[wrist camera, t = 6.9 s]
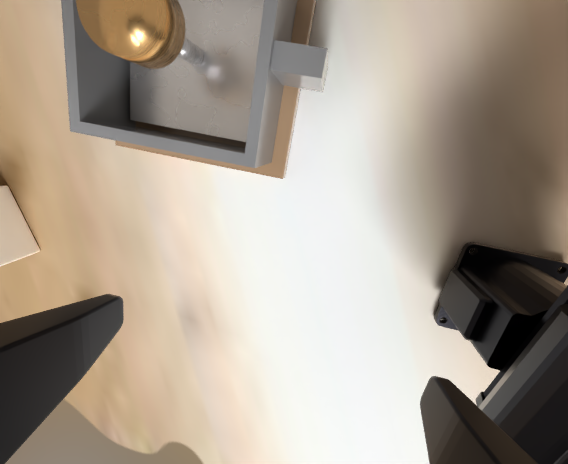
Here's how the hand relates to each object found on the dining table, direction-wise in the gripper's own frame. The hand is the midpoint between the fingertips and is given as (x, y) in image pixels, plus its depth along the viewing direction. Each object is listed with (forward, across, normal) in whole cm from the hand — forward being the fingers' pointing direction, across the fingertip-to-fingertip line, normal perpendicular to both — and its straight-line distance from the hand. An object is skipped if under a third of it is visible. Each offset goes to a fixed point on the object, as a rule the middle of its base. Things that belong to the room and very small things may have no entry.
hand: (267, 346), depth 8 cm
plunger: (+11, +8, -9) cm, 17 cm away
